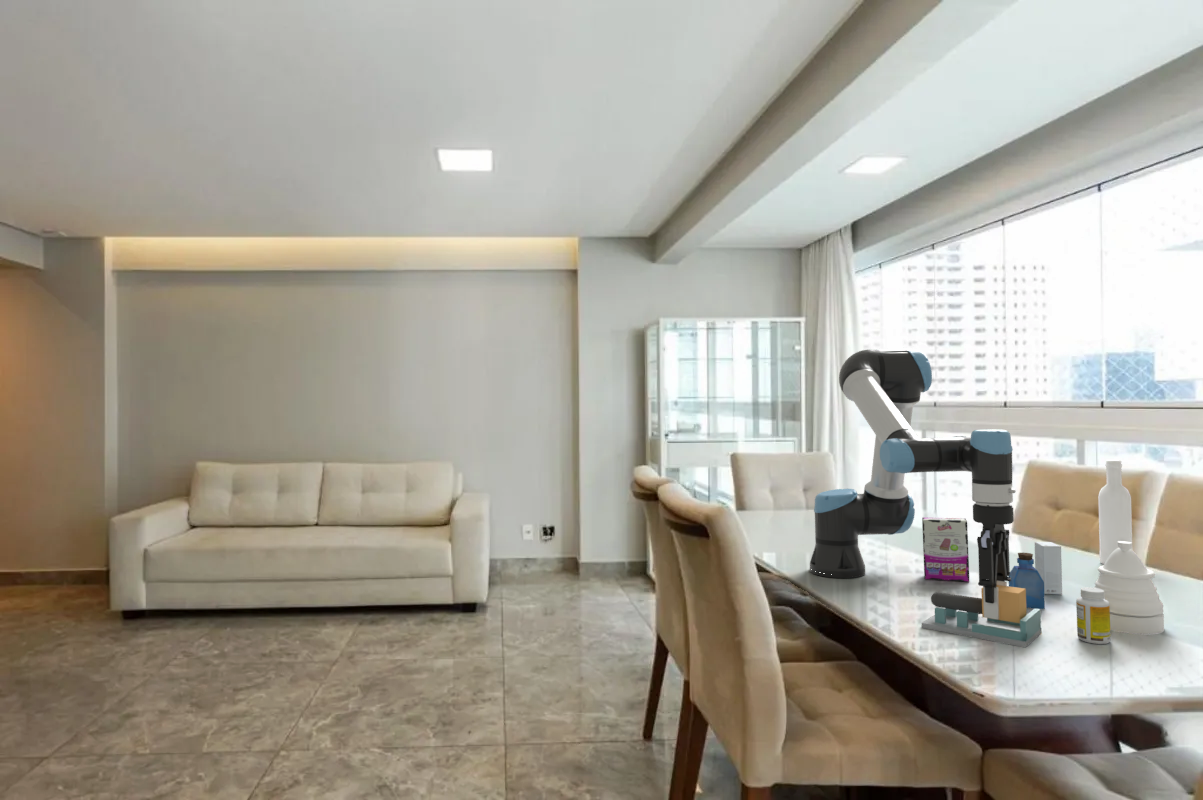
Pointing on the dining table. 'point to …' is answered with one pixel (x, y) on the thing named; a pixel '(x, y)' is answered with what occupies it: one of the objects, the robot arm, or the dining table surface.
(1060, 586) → the skincare box
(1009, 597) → the orange cube-head hammer
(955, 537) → the candy bar box
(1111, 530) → the bottle
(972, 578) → the dining table surface
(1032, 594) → the perfume bottle
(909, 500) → the robot arm
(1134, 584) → the honey pot
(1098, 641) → the supplement bottle
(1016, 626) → the teal block plate
